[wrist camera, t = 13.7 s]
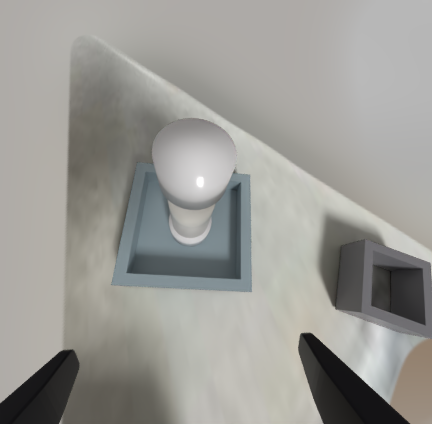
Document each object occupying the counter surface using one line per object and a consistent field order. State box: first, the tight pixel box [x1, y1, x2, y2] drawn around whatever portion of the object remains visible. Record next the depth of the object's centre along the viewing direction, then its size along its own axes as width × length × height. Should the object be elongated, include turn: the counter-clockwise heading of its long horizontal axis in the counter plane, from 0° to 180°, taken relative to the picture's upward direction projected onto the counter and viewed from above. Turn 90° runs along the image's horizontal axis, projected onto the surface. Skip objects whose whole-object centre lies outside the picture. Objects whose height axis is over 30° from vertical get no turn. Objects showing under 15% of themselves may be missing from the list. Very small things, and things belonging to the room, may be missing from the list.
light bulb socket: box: [336, 239, 432, 339], centre depth 22 cm, size 7×7×4 cm
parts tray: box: [111, 162, 252, 292], centre depth 21 cm, size 12×12×3 cm
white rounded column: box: [152, 118, 237, 247], centre depth 16 cm, size 4×4×13 cm
